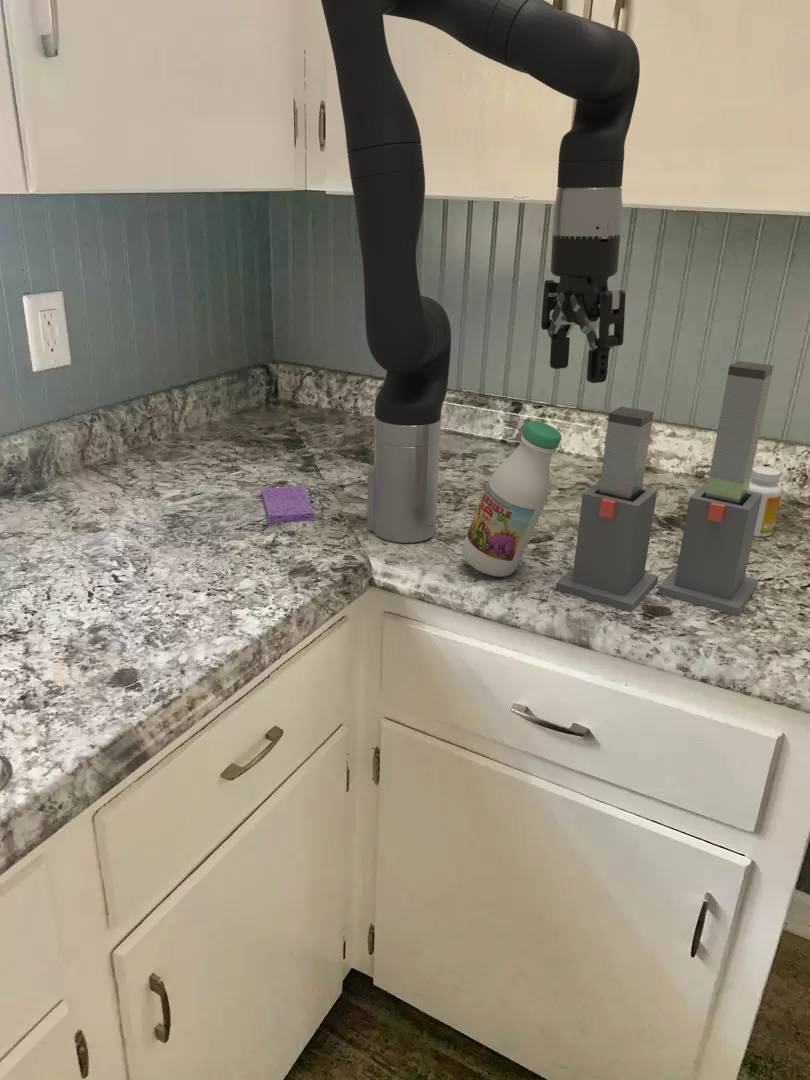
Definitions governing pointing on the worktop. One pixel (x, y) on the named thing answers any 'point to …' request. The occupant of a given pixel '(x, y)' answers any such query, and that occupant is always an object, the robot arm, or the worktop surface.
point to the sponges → (287, 504)
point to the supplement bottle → (766, 498)
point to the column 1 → (625, 453)
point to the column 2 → (738, 431)
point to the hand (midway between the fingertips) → (576, 374)
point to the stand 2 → (715, 554)
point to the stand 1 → (612, 550)
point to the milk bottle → (512, 503)
